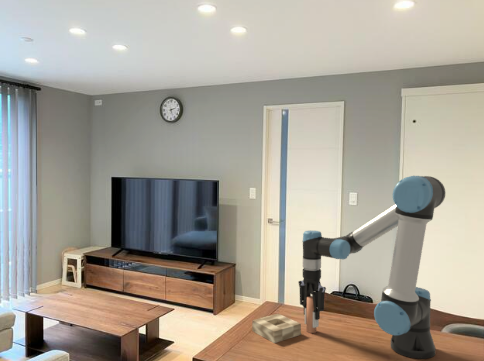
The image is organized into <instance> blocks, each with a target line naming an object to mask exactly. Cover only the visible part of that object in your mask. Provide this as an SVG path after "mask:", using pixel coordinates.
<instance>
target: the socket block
mask: <svg viewBox="0 0 484 361" xmlns="http://www.w3.org/2000/svg"><path fill="white" fill-rule="evenodd" d="M251 328H252V329H251V330H252V332H253V333H255V334H256V335H258V336H261V337H262V338H264V339H266V340H267V341H270V342H271V343H273V344H276V343H279V342H282V341H286V340H289V339H291V338H295V337H298V336H301V335H302V323H301V322H299V321H296V320H293V319H291V318H289V317H287V316H285V315H282V314H280V313H274V314H271V315H268V316H264V317H260V318H259V317H258V318H256V319H252V327H251Z"/></svg>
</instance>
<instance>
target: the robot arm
mask: <svg viewBox="0 0 484 361" xmlns="http://www.w3.org/2000/svg"><path fill="white" fill-rule="evenodd" d="M445 198H446V189H445V186H444V184H443V183H442V182H441V180H439V179H438V178H436V177H433V176H429V175H428V176H427V175H424V176H423V175H410V176H407V177H404V178H402V179H401V180H399V181H398V182H397V183H396V184H395V186H394V188H393V191H392V201H393V204H392V205H390V206H389V207H387V208H386V209H384V210H383V211H381V212H379V213H378V214H377V215H375V216H373V217H372V218H371V219H369V220H368V221H366V222H365V223H363V224H362V225H360V226H358V227H356V228H355V229H354V230H352V231H351V232H349V233H348V234H347V235H344V236H340V237H339V236H337V237H334V238H330V237H324V236H322V232H321V231H320V230H305V231H304V232H303V233H302V236H303V237H302V242H301V243H302V268H303V269H302V278H303V280H299V281H298V287H299V304H300V305H301V306H302V308H303V316H304V325H307V297H308V296H312V297H313V305H314V311H313V328H315V327H316V328H319V320H320V313H321V312H323V311H324V310H325V293H326V291H327V288H326V286H322V284H321V279H322V270H321V268H322V257H326V258H331V259H335V260H346V259H348V257H349V255H351V254H352V255H353V254H357V253H359V252H360V251H362V250H363V248H364V247H366V246H367V245H369V244H370V243H372V242H373V241H375V240H377V239H379V238H380V237H382V236H384V235H386V234H387V233H389V232H390V231H392V230H393V229H396V228H397V229H396V237H395V241H394V249H393V253H392V254H393V255H392V260H391V266H390V273H389V277H388V278H389V279H388V284H387V286H385V287H383V288H382V292H381V299H380V301H379V302H378V303H377V304H376V306H375V308H374V310H373V316H374V319H375V323H376V324H377V325H378V327H379V328H380V329H381V330H382V331H383V332H385V333H386V334H388V335H391V338H390V349H391V350H393V352H395V353H397V354H398V355H401V356H404V357H408V358H412V359H420V360H421V359H423V360H424V359H425V360H426V359H431V358H434V357H435V355H436V345H435V343H434V339H433V336H432V333H431V302H432V299H431V293H430V291H429V290H427V289H426V288H423V287H417V283H418V275H419V269H420V265H421V259H422V253H423V247H424V241H425V234H426V230H427V229H426V228H427V224H428V223H429V222H431V221H432V220H433V218H434V214H435V212H434V211H435V209H436V208H438V207H440V206H441V205H442V204H443V203H444V201H445Z"/></svg>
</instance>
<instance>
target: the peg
mask: <svg viewBox="0 0 484 361" xmlns="http://www.w3.org/2000/svg"><path fill="white" fill-rule="evenodd" d="M313 311H314V305H313V297H312V295H311V296H308V297H307V324H306V333H309V334H315V333H317V327H315V328H313Z"/></svg>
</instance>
